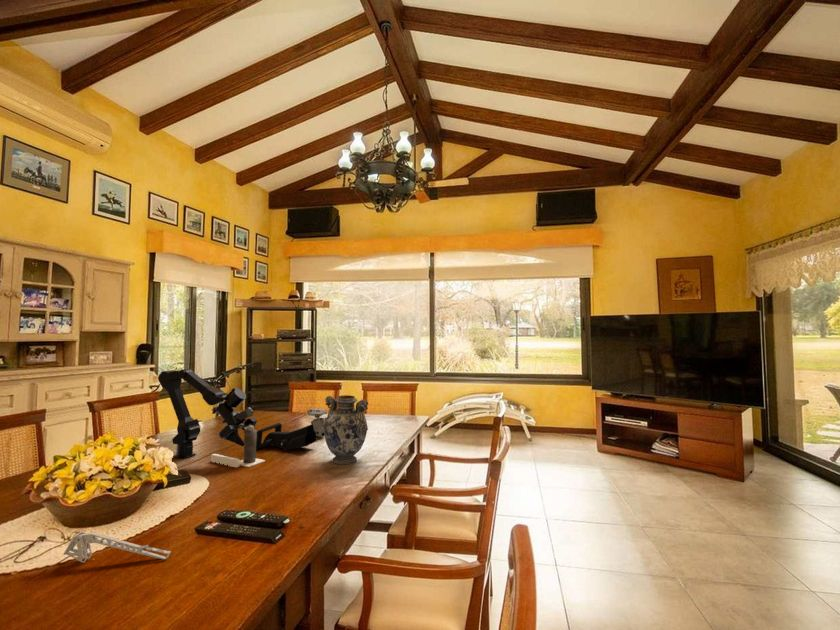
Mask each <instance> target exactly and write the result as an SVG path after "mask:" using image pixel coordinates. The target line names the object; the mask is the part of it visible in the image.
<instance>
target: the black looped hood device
mask: <svg viewBox="0 0 840 630" xmlns="http://www.w3.org/2000/svg"><path fill="white" fill-rule="evenodd" d="M282 426H283V425H282V423H280V422H277V423H276V424H272V425H269V426H267V427H264V428H263V427H262V428H260V429H258V430H257V438H258V440H256V450H260V449H261V448H264V447H267V446H269V445H271V446H274V447H277V448H279V449H281V450H284V451H285V452H286V451H291V450H294V449H300V448H303V447H308V446H310V445H312V444H313V443H316V442H317V439H316V432H315V431H314V428H313V424H312V425H311V424H309V425H308V426H307V425H306V426H303V427H301V428H298V429H296V430H293V431H282V428H283V427H282ZM273 429H274V431H271V432H269V433H268V434H267V435H266V436H265V437H264V439H263V433H264V432H265V433H266V431H270V430H273Z"/></svg>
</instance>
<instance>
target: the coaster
mask: <svg viewBox="0 0 840 630" xmlns="http://www.w3.org/2000/svg"><path fill="white" fill-rule="evenodd" d="M264 462H266V460H265V459H261V458H257V457H256V461H255V462H253V463H243V459H241V460H240V459H239V466H241V467H246V468H250V467H253V466H256V465H259V464H262V463H264Z"/></svg>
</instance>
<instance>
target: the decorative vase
mask: <svg viewBox="0 0 840 630" xmlns="http://www.w3.org/2000/svg"><path fill="white" fill-rule="evenodd" d="M324 400H325V406H327V407H328V410H327V414H326V415H327V416H326V417H327V418H326V420H325V423H324V435H323V436H324V440H325V443H326V446H327V448H328V449H329V452H330V453H331V454H333V455H334V457H333V458H332V460H331V462H332V463H333V462H334V463H333V464H335V463H337V464H336V465H350V464H349V463H352V464H354V463H356V462H357V461H358V458H357V457H356V456H355V455H356V454H358V453H359V452H360V450H361V449H362V447H363V445H364V443H365V440H366V438H367V433H368V430H369V428H368V427H369V426H368V423H367V419H366V414H365V412H364V411H365V410H368V409H369V408H368V405H369V402H368V401H367V400H366V399H361V400H359V401H358V399H357V398H356V396H354V395H350V394H348V395H346V394H345V395H343V394H342V395H338V396H337V397H336V398H335V397H333V396H331V395H329V396H326V397H325V399H324ZM355 403H356V404H355ZM355 461H356V462H355ZM353 462H354V463H353Z"/></svg>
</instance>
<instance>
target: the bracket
mask: <svg viewBox="0 0 840 630" xmlns="http://www.w3.org/2000/svg"><path fill="white" fill-rule="evenodd" d="M100 538H101V539H100ZM105 540H106V541H105ZM91 544H98V545H101V546H102V545H103V546H106V547H111V548H115V549H118V550H122V551H127V552H131V553H134V554H138V555H142V556H147V557H151V558H155V559H159V560H167V559H168V558H169V556H170V555H171V552H172V551H171V550H165V549H160V548H156V547H151V546H149V544H146V545H140V544H136V543H133V542H128V541H126V540H122V539H119V538H115V537H111V536H107V535H104V534H100V533H97V532H87V533H86V532H84V531H83V530H82V531H79V532H78V533H77V534H75V535H74V536H73V537H72V538H71V541H70V542H69V544H68V545H67V547H66V549H65V551H64V553H63V554H62V555H63V556H65V555H67V556H69V557H71V558H73V559H75V561H78V562H80V563H84V564H85V563H86V561H87V560H90V558H91V556H92V555H93V552H92V547H91ZM75 547H77V548H75ZM144 549H145V550H144ZM88 551H89V552H88ZM151 551H152V552H151ZM154 552H158V553H160V554H157V553H154ZM161 553H162V554H165V555H166V556H164V555H161ZM88 555H89V556H88ZM83 559H84V561H83Z"/></svg>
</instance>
